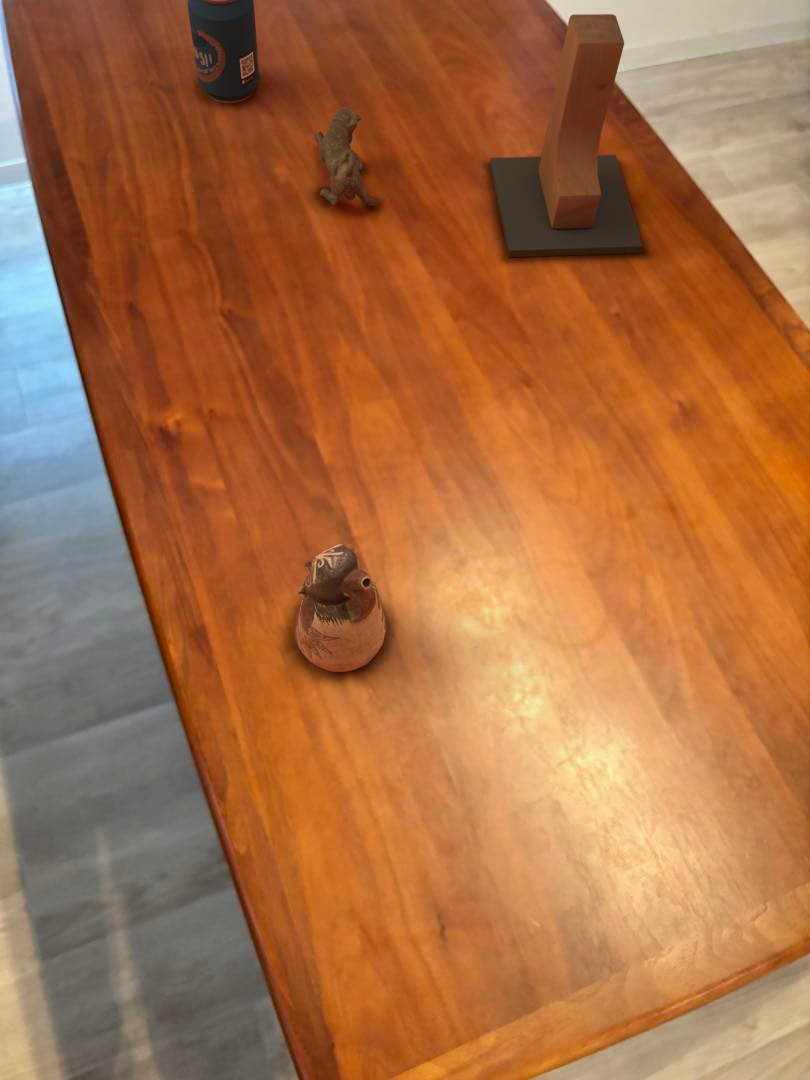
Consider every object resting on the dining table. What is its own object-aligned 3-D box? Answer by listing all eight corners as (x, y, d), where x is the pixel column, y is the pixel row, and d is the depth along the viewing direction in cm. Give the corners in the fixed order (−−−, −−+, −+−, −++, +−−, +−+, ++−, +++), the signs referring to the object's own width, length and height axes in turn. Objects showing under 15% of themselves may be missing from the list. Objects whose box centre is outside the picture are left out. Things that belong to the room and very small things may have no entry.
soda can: (186, 86, 114) (170, -17, 104) (231, 60, 117) (220, -43, 107) (228, 115, 112) (216, 13, 102) (273, 87, 115) (266, -15, 104)
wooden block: (593, 229, 105) (636, 73, 89) (550, 230, 104) (587, 74, 89) (577, 170, 109) (616, 12, 94) (536, 171, 109) (569, 12, 93)
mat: (613, 162, 112) (615, 154, 111) (640, 253, 105) (643, 246, 104) (489, 165, 110) (490, 157, 109) (508, 257, 103) (509, 250, 102)
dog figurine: (379, 218, 105) (381, 160, 99) (324, 222, 104) (323, 163, 98) (364, 142, 111) (365, 82, 105) (311, 145, 110) (310, 85, 104)
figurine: (343, 578, 84) (343, 501, 73) (403, 635, 81) (412, 564, 71) (278, 631, 81) (268, 559, 71) (338, 692, 79) (337, 626, 68)
